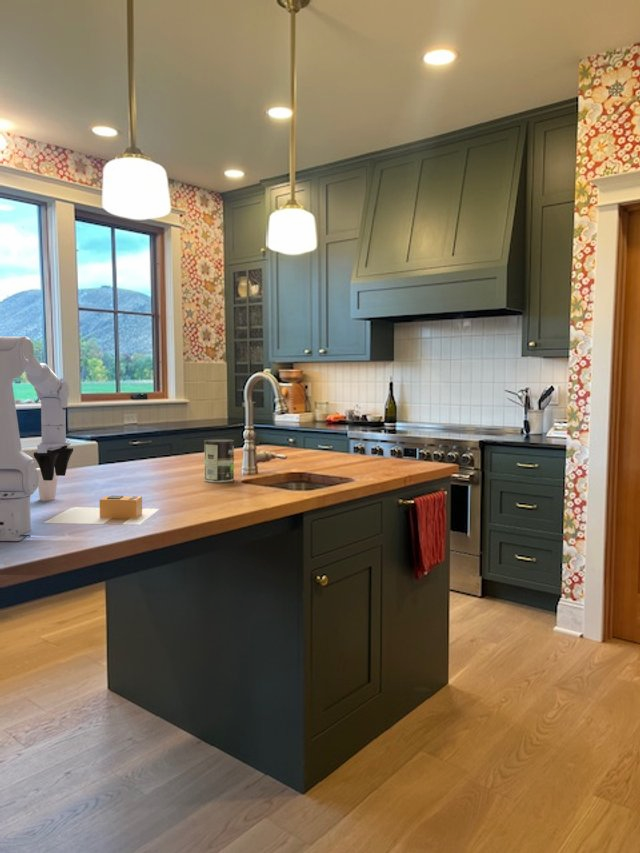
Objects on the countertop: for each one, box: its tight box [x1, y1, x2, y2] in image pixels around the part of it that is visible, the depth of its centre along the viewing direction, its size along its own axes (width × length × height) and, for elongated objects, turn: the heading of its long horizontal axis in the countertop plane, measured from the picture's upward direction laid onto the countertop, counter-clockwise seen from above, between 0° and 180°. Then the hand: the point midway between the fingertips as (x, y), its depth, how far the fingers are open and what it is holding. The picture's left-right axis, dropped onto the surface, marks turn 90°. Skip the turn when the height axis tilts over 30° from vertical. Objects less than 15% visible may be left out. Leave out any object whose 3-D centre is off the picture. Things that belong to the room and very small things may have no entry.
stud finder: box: [99, 495, 143, 518], centre depth 157 cm, size 5×9×5 cm, turn 90°
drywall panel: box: [42, 506, 160, 526], centre depth 157 cm, size 18×23×1 cm
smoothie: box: [36, 467, 59, 502], centre depth 175 cm, size 6×6×14 cm
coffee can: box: [203, 438, 235, 484], centre depth 218 cm, size 10×10×14 cm
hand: (54, 477), depth 161 cm, fingers open, 7 cm apart
